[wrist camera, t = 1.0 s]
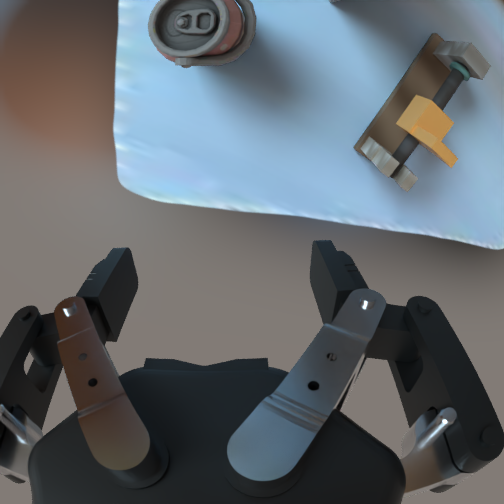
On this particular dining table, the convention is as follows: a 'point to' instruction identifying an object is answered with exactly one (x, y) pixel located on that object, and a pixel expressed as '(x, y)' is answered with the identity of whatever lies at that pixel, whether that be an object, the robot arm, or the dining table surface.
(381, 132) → the cord rig
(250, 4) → the beverage can
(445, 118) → the sleeve
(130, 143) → the dining table surface
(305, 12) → the dining table surface
